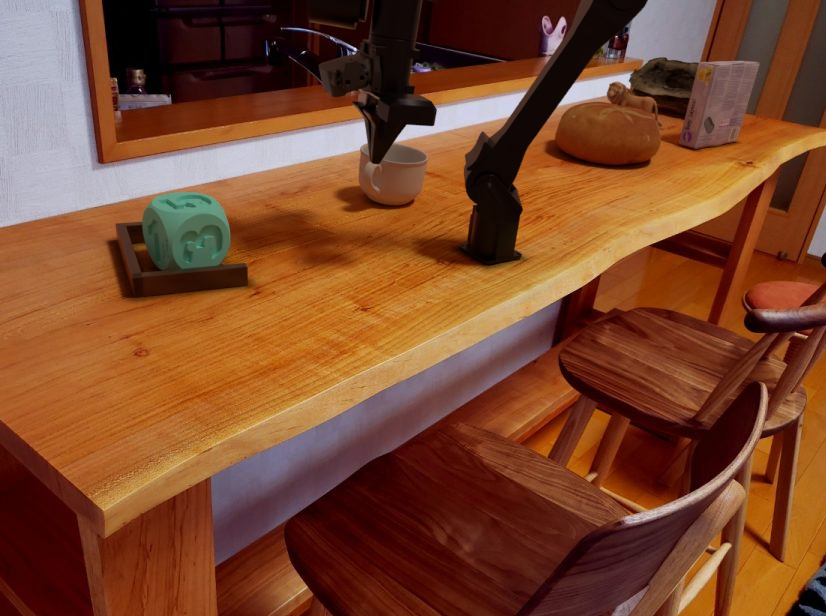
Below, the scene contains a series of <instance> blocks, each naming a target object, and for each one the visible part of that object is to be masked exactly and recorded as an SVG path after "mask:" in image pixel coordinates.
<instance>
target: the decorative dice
mask: <svg viewBox="0 0 826 616" xmlns="http://www.w3.org/2000/svg"><path fill="white" fill-rule="evenodd" d="M141 222H142V228H143V235H144V240H145V242H144V243H145V247H146V250H147V252H148V255H149V257H150V259H151V261H152V262H153V264H154V266H156V268H158V269H159V270H160V271H165V270H175V269H186V268H196V267H206V266H217V265H222V263H223V262H224V260H225V259H226V257H227V255H228V253H229V251H230V248H231V230H230V223H229V221H228V218H227V215H226V212H225V210H224V208H223V207H222V205H221V204H220V202H219V201H218V200H217V199H215V198H214V197H213V196H211V195H209V194H205V193H201V192H195V191H175V192H168V193H163V194H160V195H158V196H155V197H154V198H153V199H151V201H150V202H149V203H148V204H147V206H146V208H145V210H144V211H143V214H142V219H141Z"/></svg>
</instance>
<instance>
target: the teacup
mask: <svg viewBox="0 0 826 616" xmlns="http://www.w3.org/2000/svg"><path fill="white" fill-rule="evenodd" d="M359 151H360V157H359V165H358V166H359V167H358V184H359V188H360V189H361V190H362V192H363V193H365V195H366V196H367V197H368V198H369V199H370V200H371V201H373V202H375V203H377V204H381V205H386V206H404V205H406V204H408V203H410V202H411V201H412V200H414V199H416V198H417V197H418V196H419V195H420V193H421V192H422V189H423V186H424V182H425V176H426V171H427V165H428V161H429V155H428V153H426V152H425V151H423V150H421V149H419V148H416V147H414V146H412V145H407V144H403V143H396V142H394V143H393V144H392V146H391V147H390V149H389V150H388V152H387V153H386V155H385V156H384V158H383V159H382V161H381V162H380V164H372V163H371V162H370V158H369V150H368V142H367V143H364V144H362V145H361V146H360V148H359Z"/></svg>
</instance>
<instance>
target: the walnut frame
mask: <svg viewBox="0 0 826 616" xmlns="http://www.w3.org/2000/svg"><path fill="white" fill-rule="evenodd" d="M114 225H115V233H116V241H117V244H118V248H119V252H120V254H121V258H122V261H123V265H124V268H125V271H126V275H127V278H128V281H129V285H130V288H131V291H132V295H133V297H134V298H143V297H153V296H159V295H160V296H162V295H169V294H171V295H172V294H178V293H179V294H180V293H186V292H187V293H189V292H198V291H208V290H218V289H226V288H227V289H228V288H235V287H244V286H249V277H248V275H249V269H248V268H249V267H248V265H247V263H246V262H240V263H228V264H220V265H217V266H206V267H196V268H186V269H175V270H165V271H162V270H157V271H155V270H154V271H144V272H142V269H141V267H140V263H139V261H138V257H137V255H136V252H135V249H134V246H133V244H141V243H145V240H144V235H143V228H142V221H132V222H131V221H129V222H118V223H115V224H114Z"/></svg>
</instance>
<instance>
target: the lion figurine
mask: <svg viewBox="0 0 826 616" xmlns="http://www.w3.org/2000/svg"><path fill="white" fill-rule="evenodd" d="M608 85H609V86H608V89H607V92H606V98H607V100H608V102H609V103H612V104H616V105H619V106H623V107H630V108H637V109H642V110H644V111H646V112H648V113H649V114H651V115H652V116H653V111H654V118H655V119H656V121H657V122H658V125H659V127H661V128H662V127H663V125H662V123H661V122H659V118H658V117H659V115H658V114H659V112H658V111H659V110H658V104H656V102H655V100H654V99H653V98H651V97H638V96H635V95H634V94H633V92H632V89H630V88H629V87H627V86H626V84H624V83H622V82H620V81H614V82H613V81H612V83H609V84H608Z"/></svg>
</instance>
